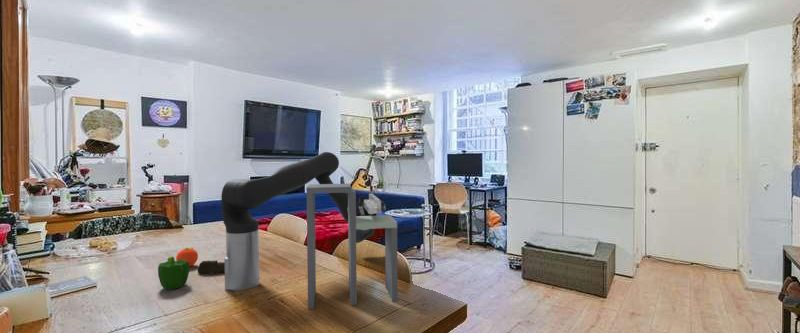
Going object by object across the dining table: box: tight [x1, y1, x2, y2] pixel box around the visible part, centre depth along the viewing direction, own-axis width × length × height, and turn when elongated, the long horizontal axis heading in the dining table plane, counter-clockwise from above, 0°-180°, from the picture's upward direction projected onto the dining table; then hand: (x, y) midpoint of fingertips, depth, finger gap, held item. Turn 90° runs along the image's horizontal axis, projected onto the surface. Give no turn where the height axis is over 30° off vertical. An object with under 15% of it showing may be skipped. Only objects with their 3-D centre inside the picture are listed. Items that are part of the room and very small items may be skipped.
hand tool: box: [197, 260, 225, 275], centre depth 122 cm, size 19×4×5 cm, turn 97°
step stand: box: [306, 183, 399, 310], centre depth 99 cm, size 24×12×32 cm, turn 101°
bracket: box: [363, 193, 382, 215], centre depth 107 cm, size 4×20×4 cm, turn 11°
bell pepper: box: [157, 256, 190, 290], centre depth 107 cm, size 8×8×10 cm
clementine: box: [175, 247, 199, 268], centre depth 128 cm, size 8×7×7 cm
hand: (369, 198), depth 111 cm, fingers closed on bracket, 3 cm apart
